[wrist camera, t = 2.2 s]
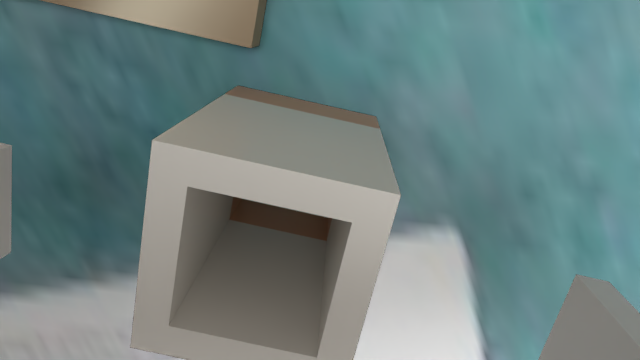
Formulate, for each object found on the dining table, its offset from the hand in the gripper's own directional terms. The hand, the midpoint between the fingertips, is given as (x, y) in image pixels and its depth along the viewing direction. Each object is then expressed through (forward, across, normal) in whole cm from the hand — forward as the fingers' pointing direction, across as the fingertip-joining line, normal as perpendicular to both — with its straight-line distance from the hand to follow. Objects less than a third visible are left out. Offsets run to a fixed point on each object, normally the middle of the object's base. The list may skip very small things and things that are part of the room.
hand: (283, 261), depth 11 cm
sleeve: (+7, -1, 0) cm, 7 cm away
